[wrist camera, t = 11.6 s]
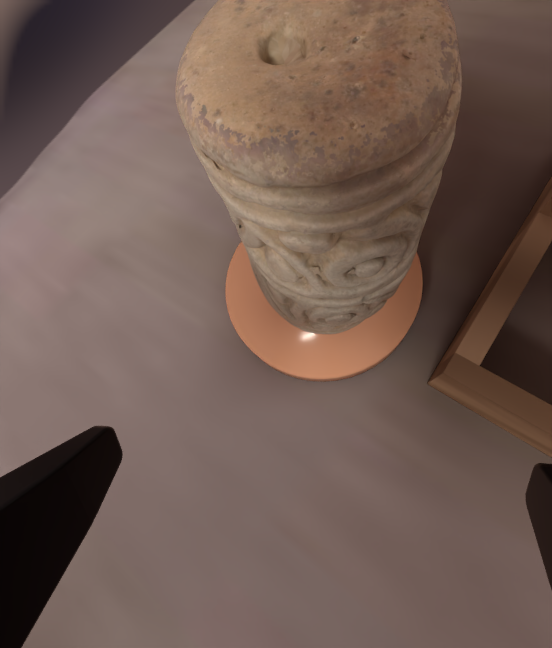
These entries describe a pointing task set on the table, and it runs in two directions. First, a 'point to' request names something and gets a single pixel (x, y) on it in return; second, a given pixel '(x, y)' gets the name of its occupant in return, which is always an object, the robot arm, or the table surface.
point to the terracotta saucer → (318, 349)
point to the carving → (324, 141)
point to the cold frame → (481, 330)
